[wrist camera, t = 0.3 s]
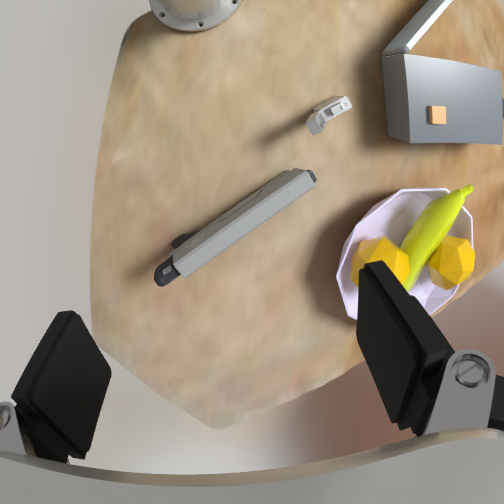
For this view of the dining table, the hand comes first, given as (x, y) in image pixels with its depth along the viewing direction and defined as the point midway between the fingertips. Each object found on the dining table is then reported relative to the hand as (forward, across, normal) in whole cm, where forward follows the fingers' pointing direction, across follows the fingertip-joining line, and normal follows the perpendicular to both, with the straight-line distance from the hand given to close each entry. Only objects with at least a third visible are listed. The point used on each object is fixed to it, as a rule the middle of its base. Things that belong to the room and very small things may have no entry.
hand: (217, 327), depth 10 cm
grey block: (+36, -33, -4) cm, 49 cm away
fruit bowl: (+36, -26, +20) cm, 49 cm away
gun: (+36, +1, +10) cm, 38 cm away
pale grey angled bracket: (+36, -13, -3) cm, 39 cm away
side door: (+36, -30, -18) cm, 50 cm away
